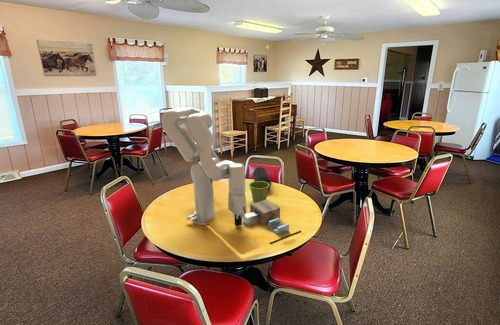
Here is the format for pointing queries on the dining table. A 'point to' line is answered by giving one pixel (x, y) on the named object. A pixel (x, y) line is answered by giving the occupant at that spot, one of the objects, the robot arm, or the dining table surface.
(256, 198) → the plant pot
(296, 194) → the dining table surface
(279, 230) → the v-block
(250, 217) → the rectangular steel bar
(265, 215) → the slotted wooden block
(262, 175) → the portable speaker
